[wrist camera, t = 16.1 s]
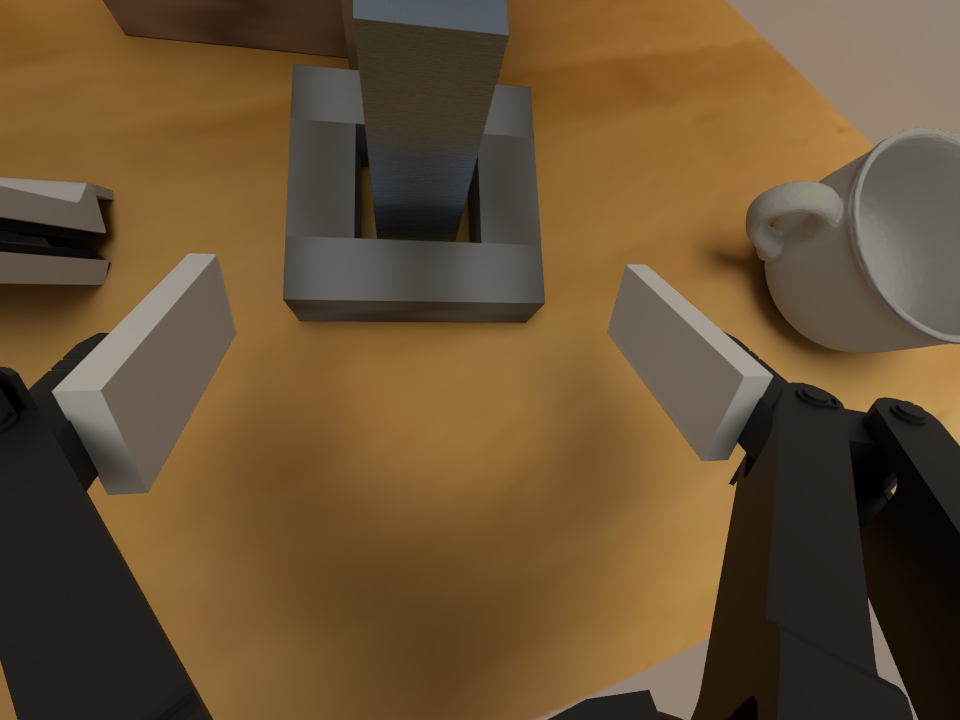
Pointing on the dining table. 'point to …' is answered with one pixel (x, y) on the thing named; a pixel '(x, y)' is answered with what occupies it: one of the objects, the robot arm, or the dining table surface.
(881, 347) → the teacup
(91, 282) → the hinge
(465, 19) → the grey square prism block
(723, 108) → the dining table surface
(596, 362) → the dining table surface
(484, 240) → the brown grey rectangular blocks
